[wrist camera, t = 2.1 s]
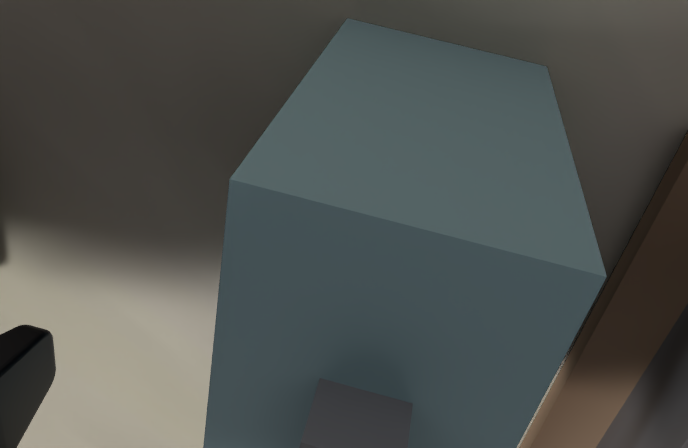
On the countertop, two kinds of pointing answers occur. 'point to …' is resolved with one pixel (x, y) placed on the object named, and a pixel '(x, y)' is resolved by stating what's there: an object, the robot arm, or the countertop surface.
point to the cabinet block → (400, 254)
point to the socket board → (631, 342)
